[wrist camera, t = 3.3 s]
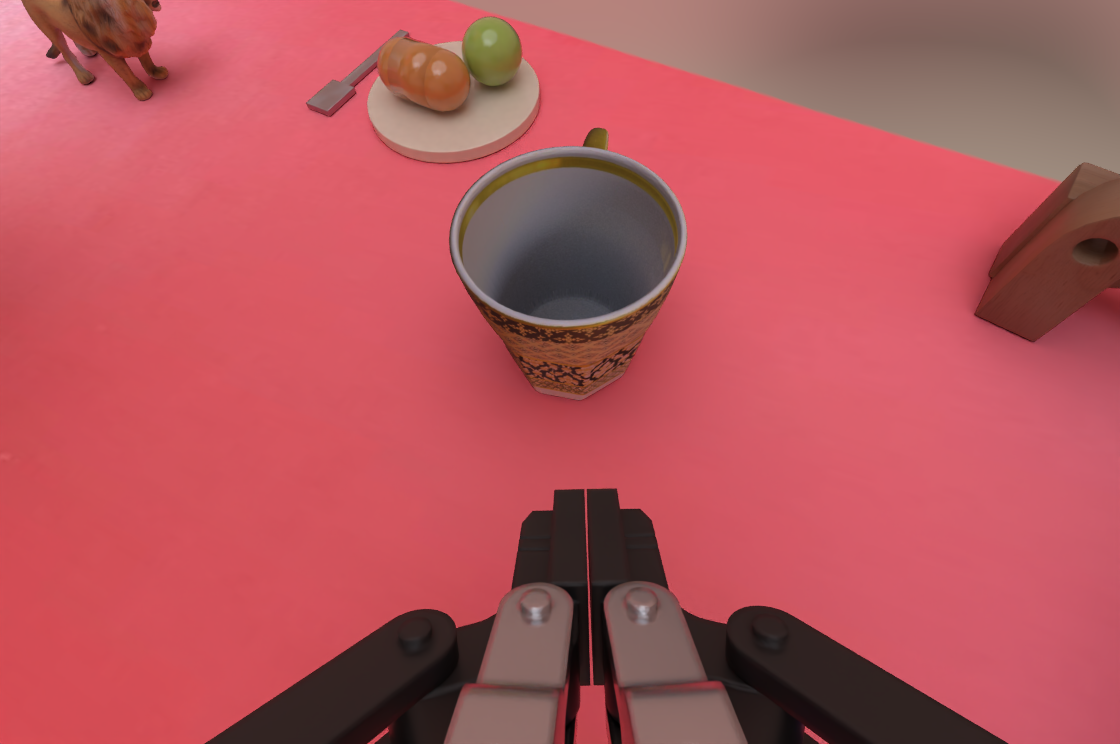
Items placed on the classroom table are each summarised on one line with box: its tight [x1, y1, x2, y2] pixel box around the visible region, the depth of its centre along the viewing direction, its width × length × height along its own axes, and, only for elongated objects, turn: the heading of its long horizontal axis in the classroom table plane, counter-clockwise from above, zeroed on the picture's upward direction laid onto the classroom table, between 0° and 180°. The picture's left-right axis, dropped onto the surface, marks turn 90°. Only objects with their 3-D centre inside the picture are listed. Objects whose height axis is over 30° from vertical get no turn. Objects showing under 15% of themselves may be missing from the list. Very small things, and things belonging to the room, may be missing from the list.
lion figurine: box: [21, 0, 168, 100], centre depth 43 cm, size 15×5×9 cm, turn 74°
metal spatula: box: [306, 30, 409, 116], centre depth 45 cm, size 11×2×1 cm, turn 151°
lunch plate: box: [367, 17, 540, 163], centre depth 41 cm, size 13×13×5 cm
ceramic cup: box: [449, 128, 687, 400], centre depth 29 cm, size 13×10×10 cm
